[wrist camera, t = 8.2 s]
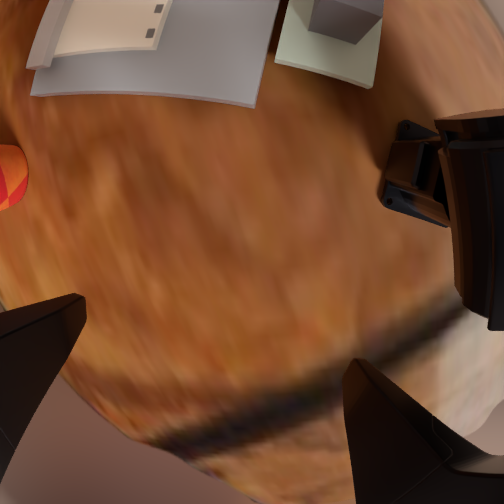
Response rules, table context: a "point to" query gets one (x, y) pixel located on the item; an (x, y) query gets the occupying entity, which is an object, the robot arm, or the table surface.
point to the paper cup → (12, 175)
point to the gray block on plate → (333, 38)
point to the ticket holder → (154, 48)
